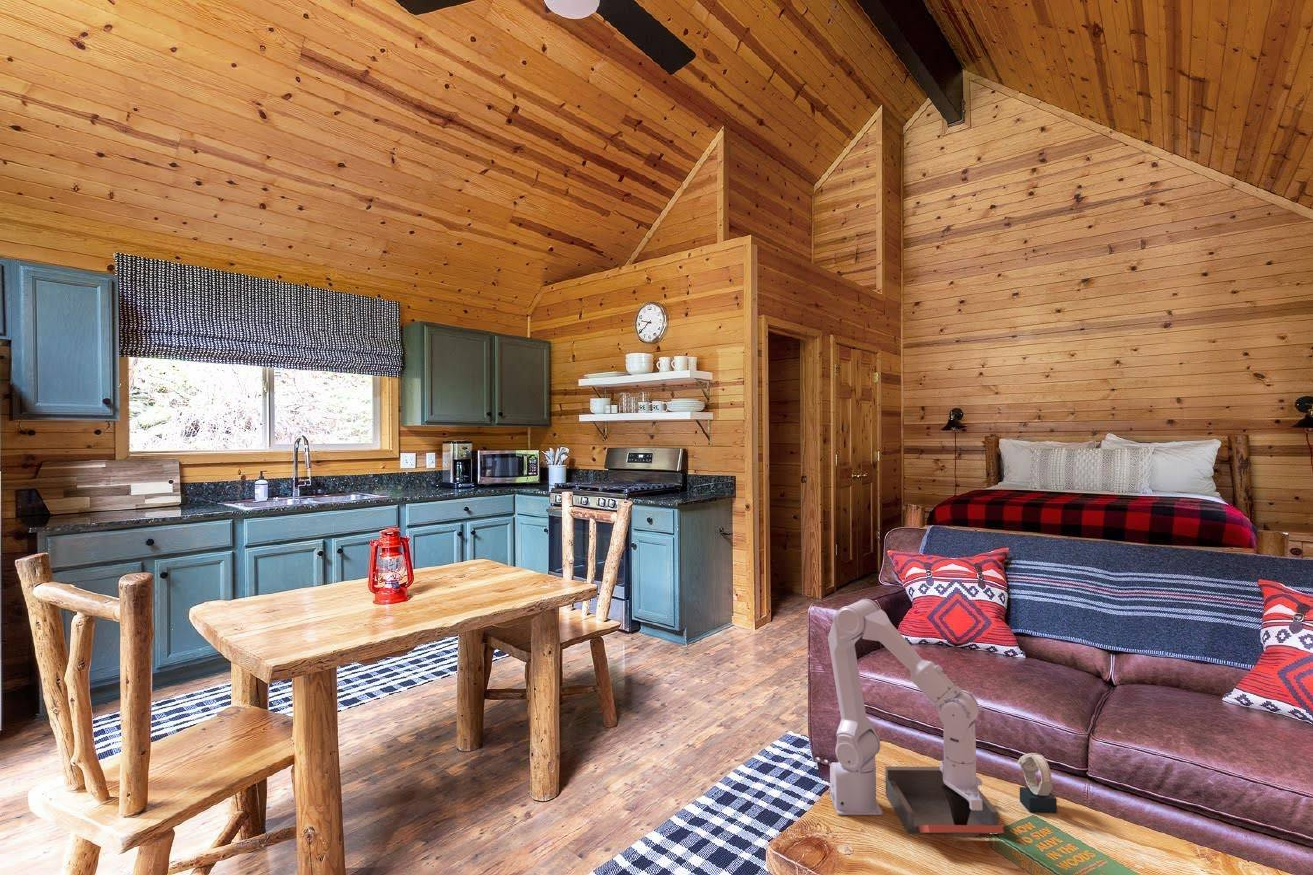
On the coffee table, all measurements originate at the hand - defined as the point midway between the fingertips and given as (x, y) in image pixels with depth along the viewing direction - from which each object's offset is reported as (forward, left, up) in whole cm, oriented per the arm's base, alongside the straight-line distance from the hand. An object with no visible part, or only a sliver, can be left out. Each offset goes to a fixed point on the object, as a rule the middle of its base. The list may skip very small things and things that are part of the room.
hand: (960, 826), depth 126 cm
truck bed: (0, +11, -4) cm, 11 cm away
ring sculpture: (+22, +14, -4) cm, 26 cm away
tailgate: (0, +3, -2) cm, 3 cm away
